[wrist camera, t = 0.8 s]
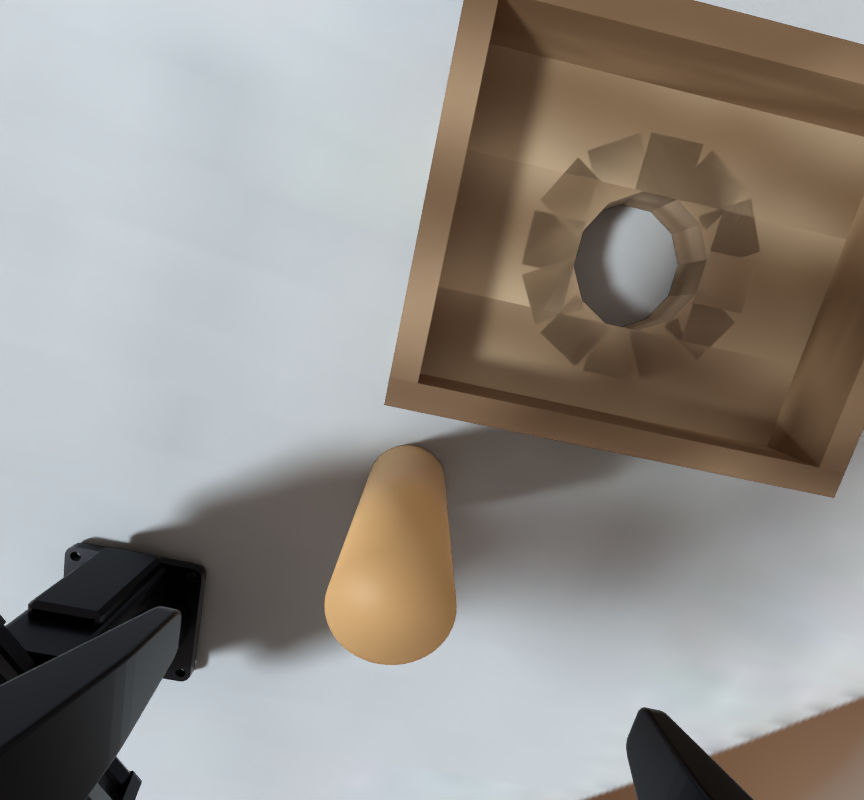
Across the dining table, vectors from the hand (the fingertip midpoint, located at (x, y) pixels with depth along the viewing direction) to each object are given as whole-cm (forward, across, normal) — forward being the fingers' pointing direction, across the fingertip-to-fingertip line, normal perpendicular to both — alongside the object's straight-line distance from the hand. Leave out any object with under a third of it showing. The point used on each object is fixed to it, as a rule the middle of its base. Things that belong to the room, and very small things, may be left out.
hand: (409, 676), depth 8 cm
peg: (+12, +1, +2) cm, 12 cm away
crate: (+13, -6, -10) cm, 17 cm away
